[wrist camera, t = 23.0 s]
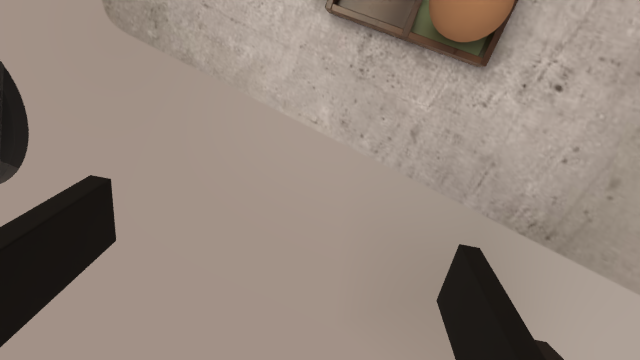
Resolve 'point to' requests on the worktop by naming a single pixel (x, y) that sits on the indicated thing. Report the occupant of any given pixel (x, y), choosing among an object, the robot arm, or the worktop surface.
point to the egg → (468, 17)
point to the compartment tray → (415, 26)
